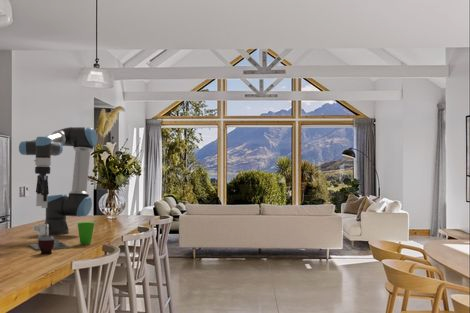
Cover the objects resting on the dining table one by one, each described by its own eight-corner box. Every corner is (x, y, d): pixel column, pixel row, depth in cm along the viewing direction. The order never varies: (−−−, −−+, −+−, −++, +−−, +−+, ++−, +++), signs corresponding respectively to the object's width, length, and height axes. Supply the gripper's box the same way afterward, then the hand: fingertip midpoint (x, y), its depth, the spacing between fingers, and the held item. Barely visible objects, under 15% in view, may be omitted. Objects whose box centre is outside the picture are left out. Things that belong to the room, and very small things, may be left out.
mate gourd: (47, 251, 256) (47, 220, 256) (58, 253, 252) (59, 221, 252) (34, 254, 249) (34, 221, 250) (45, 255, 245) (46, 222, 246)
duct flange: (61, 244, 281) (61, 237, 281) (69, 248, 268) (69, 241, 268) (29, 246, 273) (29, 239, 273) (35, 250, 259) (36, 243, 259)
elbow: (47, 242, 285) (47, 223, 285) (49, 244, 280) (49, 224, 281) (32, 243, 281) (32, 224, 281) (34, 245, 276) (34, 225, 277)
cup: (97, 243, 286) (98, 222, 286) (87, 245, 277) (88, 224, 277) (83, 242, 289) (83, 221, 289) (72, 244, 280) (73, 223, 280)
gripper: (30, 166, 291) (29, 205, 290) (40, 166, 270) (38, 208, 269) (45, 166, 295) (44, 205, 294) (55, 166, 273) (54, 208, 273)
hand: (41, 207), depth 282 cm, fingers open, 13 cm apart
